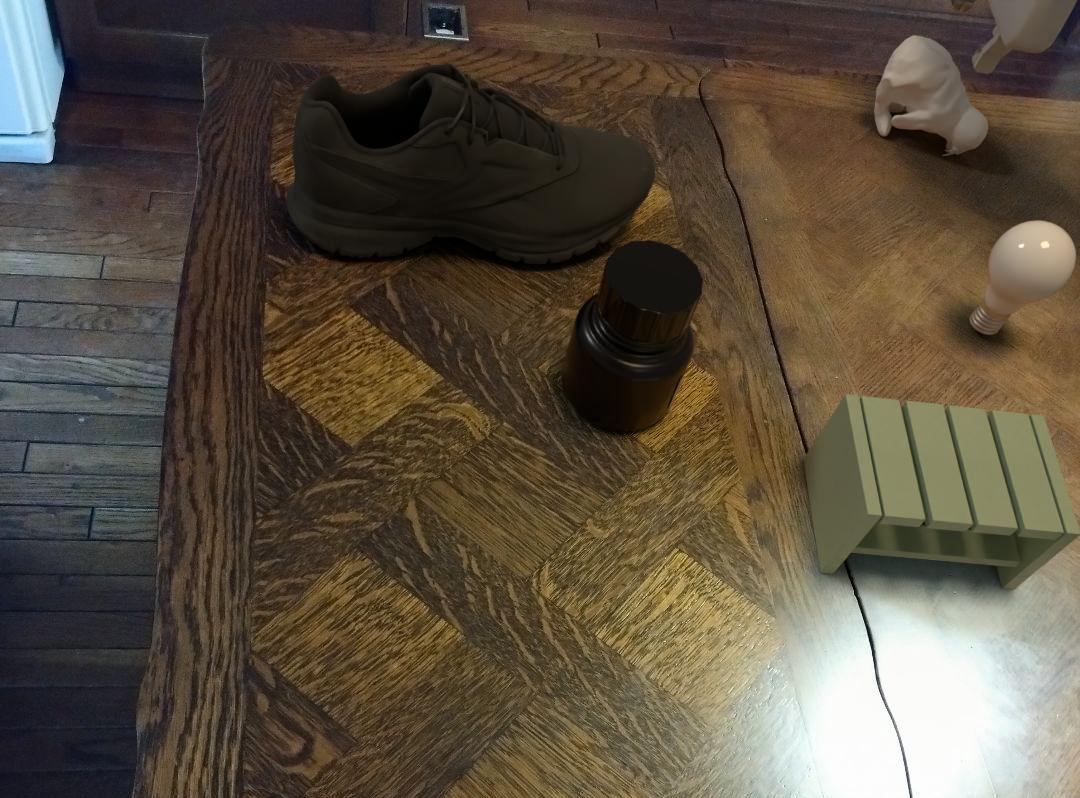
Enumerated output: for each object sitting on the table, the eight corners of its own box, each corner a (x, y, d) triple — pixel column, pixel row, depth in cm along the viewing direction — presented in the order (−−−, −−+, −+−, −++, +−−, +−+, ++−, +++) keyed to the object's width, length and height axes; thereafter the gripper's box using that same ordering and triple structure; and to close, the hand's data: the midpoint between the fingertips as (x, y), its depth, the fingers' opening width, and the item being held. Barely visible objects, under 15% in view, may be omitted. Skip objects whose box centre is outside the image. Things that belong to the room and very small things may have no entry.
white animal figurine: (916, 15, 94) (1026, 78, 94) (870, 90, 102) (971, 150, 101) (896, 45, 91) (1009, 111, 90) (850, 121, 98) (954, 182, 98)
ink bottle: (696, 415, 76) (747, 306, 66) (602, 454, 73) (640, 346, 63) (628, 328, 80) (667, 212, 70) (536, 361, 77) (562, 244, 67)
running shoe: (657, 263, 84) (703, 126, 73) (299, 289, 77) (287, 140, 65) (620, 172, 90) (657, 31, 78) (282, 188, 82) (267, 34, 71)
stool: (984, 477, 78) (1044, 415, 71) (1014, 589, 73) (1081, 534, 66) (802, 459, 76) (845, 393, 69) (820, 573, 71) (868, 514, 64)
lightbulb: (1003, 368, 84) (1082, 273, 75) (935, 331, 85) (1005, 234, 76) (1023, 325, 87) (1102, 229, 78) (958, 290, 88) (1028, 191, 79)
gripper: (1135, -47, 74) (1028, 114, 85) (1064, -180, 84) (977, -21, 96) (1058, -61, 73) (960, 103, 85) (995, -194, 83) (916, -32, 95)
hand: (968, 36), depth 90 cm, fingers open, 8 cm apart
